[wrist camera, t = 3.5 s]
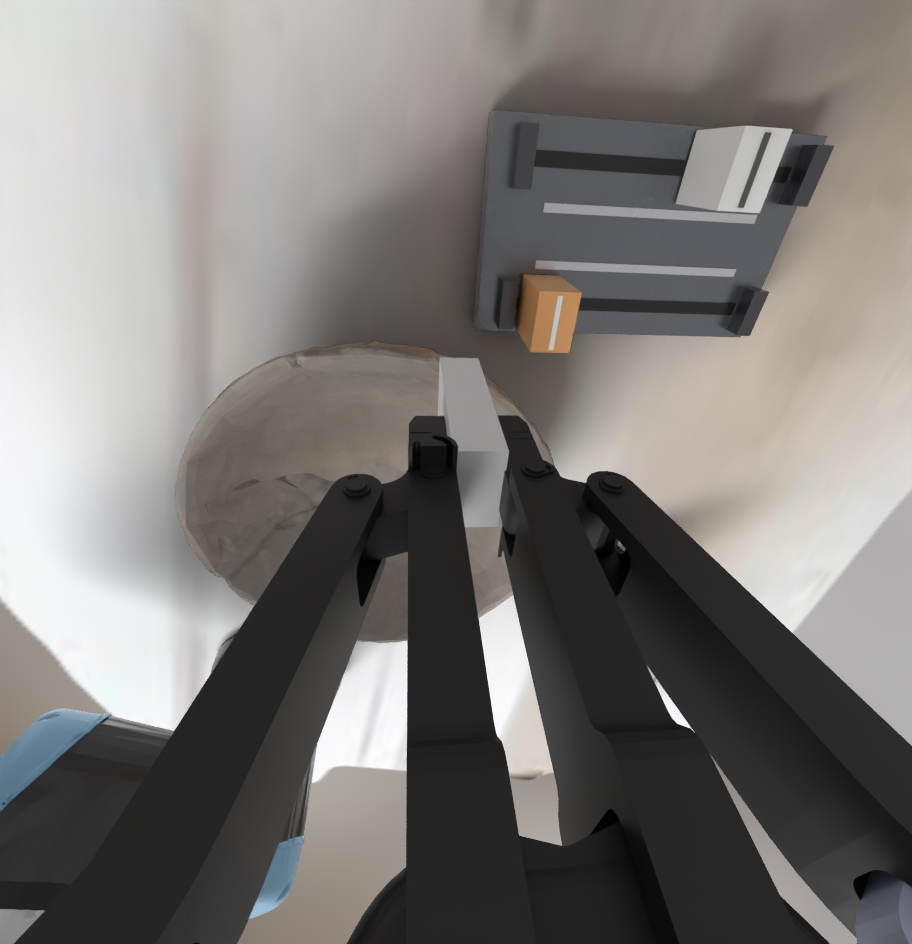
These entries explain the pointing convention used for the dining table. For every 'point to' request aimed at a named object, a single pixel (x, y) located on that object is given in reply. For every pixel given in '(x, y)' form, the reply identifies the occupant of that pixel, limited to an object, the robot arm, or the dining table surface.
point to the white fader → (732, 168)
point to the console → (626, 226)
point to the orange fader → (547, 313)
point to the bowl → (318, 466)
